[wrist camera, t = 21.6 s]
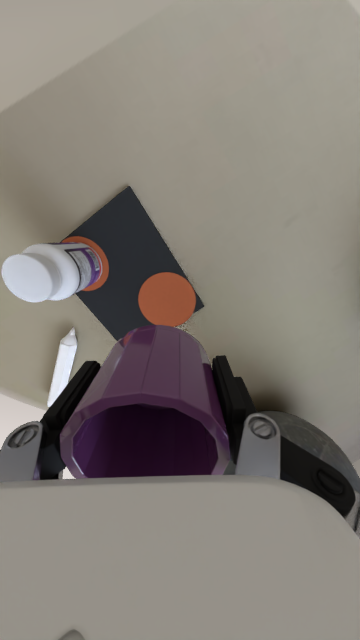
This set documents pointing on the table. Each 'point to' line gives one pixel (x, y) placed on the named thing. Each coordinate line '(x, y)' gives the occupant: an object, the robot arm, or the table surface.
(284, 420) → the bowl
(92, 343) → the table surface
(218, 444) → the cup
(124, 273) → the placemat
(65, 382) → the white pencil
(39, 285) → the pill bottle
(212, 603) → the robot arm
